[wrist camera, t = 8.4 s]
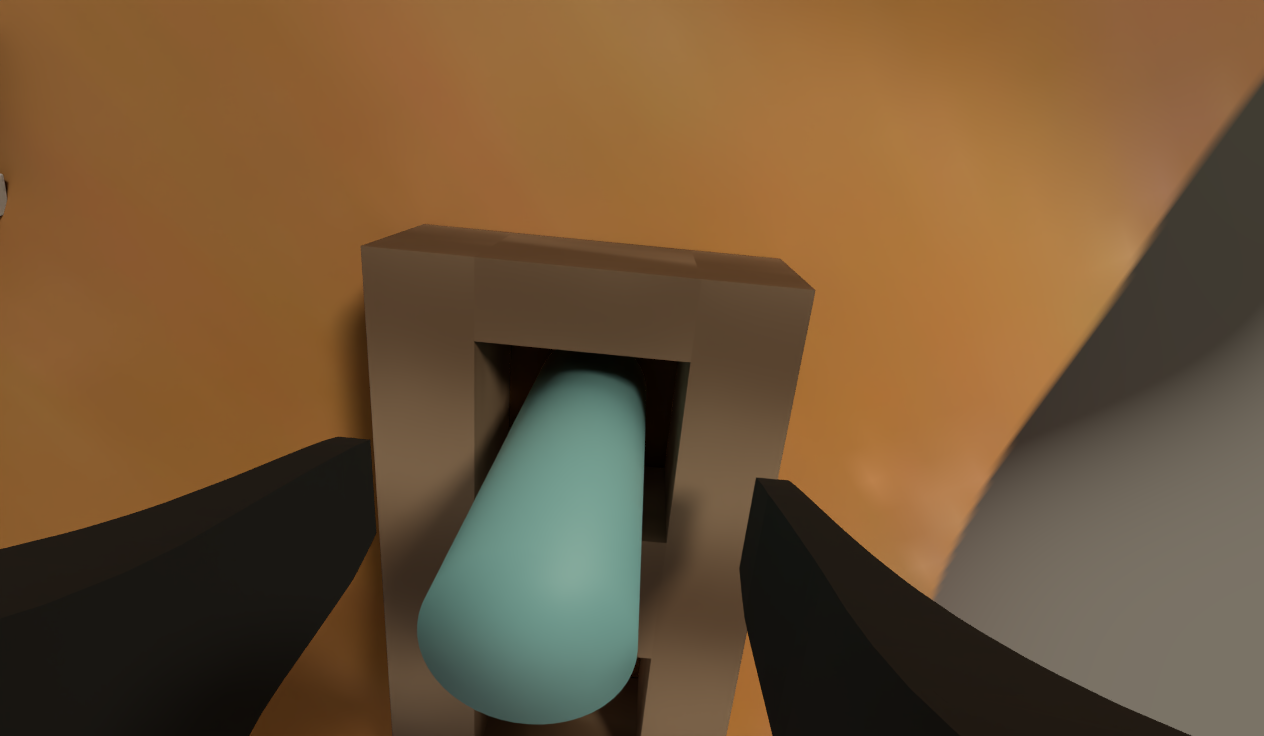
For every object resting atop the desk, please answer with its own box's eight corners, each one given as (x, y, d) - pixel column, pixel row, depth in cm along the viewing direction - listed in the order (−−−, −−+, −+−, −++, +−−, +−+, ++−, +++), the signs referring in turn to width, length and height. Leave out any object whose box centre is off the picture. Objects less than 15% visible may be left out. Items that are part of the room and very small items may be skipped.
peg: (643, 441, 17) (632, 731, 9) (537, 435, 17) (424, 717, 9) (650, 341, 16) (643, 558, 8) (537, 334, 16) (408, 544, 8)
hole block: (698, 723, 21) (706, 832, 17) (437, 697, 21) (396, 801, 17) (780, 258, 15) (815, 290, 12) (424, 224, 15) (360, 245, 12)
